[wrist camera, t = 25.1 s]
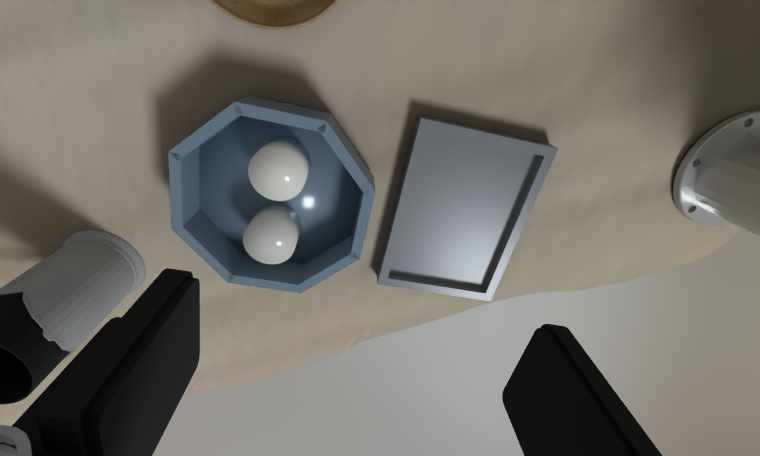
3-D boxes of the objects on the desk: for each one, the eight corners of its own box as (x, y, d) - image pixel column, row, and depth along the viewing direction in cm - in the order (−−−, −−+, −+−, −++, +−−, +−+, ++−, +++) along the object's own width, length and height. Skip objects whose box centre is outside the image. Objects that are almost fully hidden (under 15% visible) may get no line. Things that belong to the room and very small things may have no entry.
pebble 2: (304, 207, 38) (298, 224, 34) (298, 248, 40) (292, 267, 36) (255, 199, 37) (244, 215, 33) (252, 240, 39) (241, 260, 36)
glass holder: (160, 284, 42) (67, 395, 29) (53, 314, 43) (-84, 434, 30) (115, 220, 38) (-16, 314, 25) (-1, 255, 39) (-187, 362, 26)
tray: (549, 144, 37) (558, 148, 35) (485, 292, 45) (490, 301, 43) (418, 114, 35) (421, 117, 33) (376, 275, 43) (377, 284, 41)
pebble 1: (313, 141, 35) (308, 152, 31) (308, 189, 37) (302, 204, 33) (260, 132, 34) (249, 142, 30) (258, 181, 36) (247, 196, 33)
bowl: (384, 123, 35) (388, 134, 31) (351, 274, 43) (350, 300, 38) (191, 81, 32) (165, 86, 28) (193, 250, 40) (173, 274, 36)
